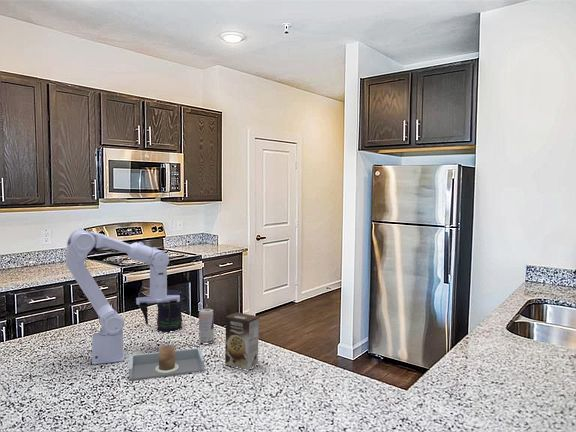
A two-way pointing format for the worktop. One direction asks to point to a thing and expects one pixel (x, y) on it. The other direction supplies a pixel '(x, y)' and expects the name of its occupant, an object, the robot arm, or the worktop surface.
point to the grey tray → (149, 368)
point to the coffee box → (241, 340)
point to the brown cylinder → (166, 358)
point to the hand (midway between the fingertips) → (158, 322)
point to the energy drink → (206, 326)
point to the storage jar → (164, 314)
